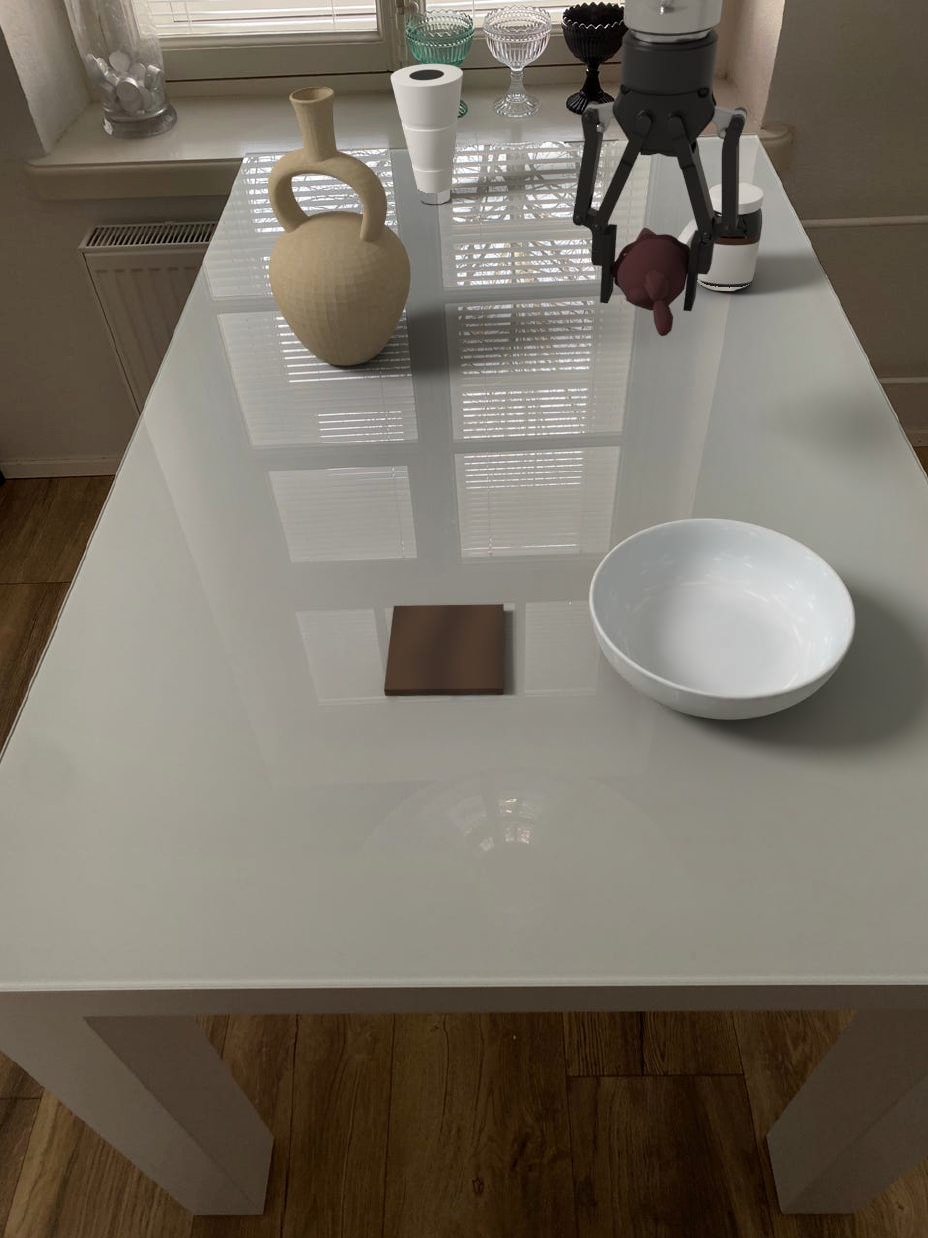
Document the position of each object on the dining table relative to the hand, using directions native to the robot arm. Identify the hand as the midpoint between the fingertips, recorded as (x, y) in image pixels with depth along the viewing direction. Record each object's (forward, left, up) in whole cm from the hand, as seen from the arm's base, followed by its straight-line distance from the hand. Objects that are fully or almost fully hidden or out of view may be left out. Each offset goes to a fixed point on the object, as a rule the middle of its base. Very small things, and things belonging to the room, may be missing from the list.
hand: (647, 299), depth 92 cm
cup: (+42, -60, -17) cm, 75 cm away
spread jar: (-3, -41, -17) cm, 44 cm away
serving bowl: (-11, +29, -17) cm, 36 cm away
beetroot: (0, 0, 0) cm, 1 cm away
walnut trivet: (+11, +34, -17) cm, 39 cm away
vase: (+38, -12, -17) cm, 43 cm away
